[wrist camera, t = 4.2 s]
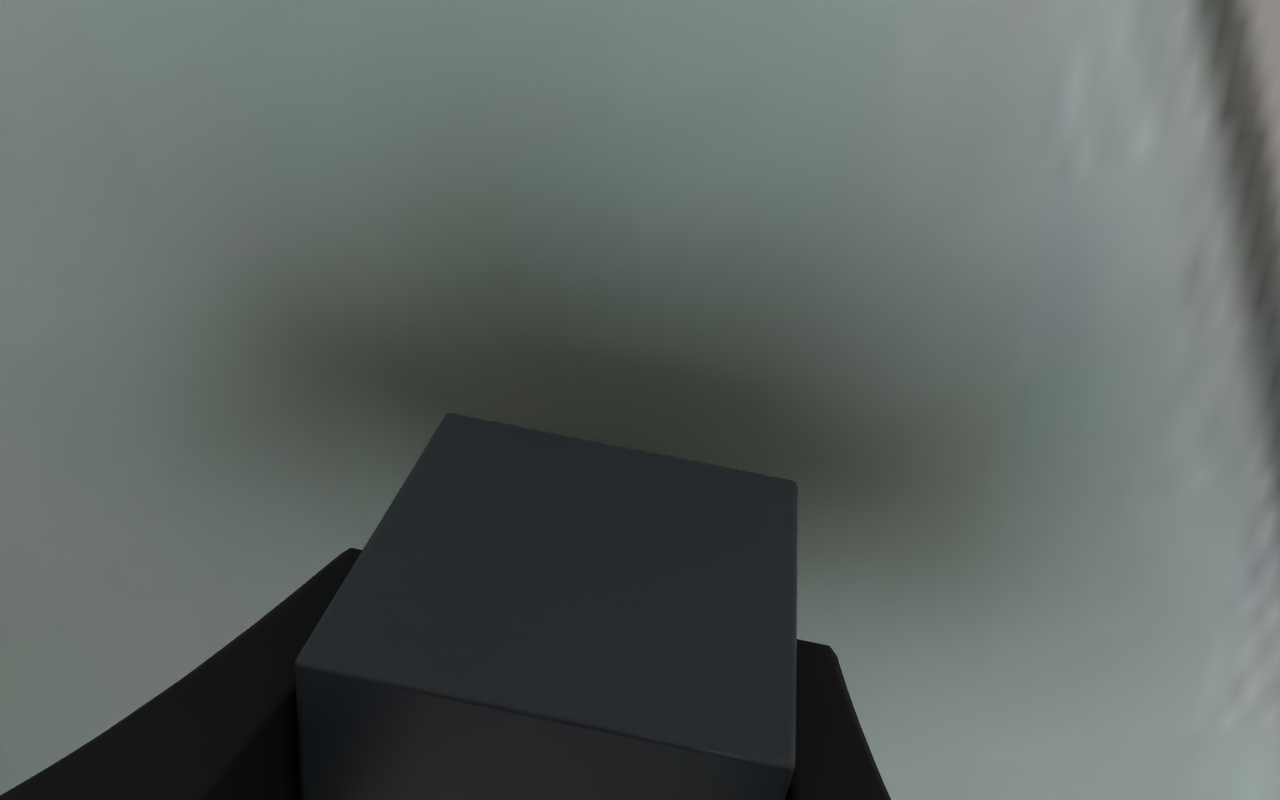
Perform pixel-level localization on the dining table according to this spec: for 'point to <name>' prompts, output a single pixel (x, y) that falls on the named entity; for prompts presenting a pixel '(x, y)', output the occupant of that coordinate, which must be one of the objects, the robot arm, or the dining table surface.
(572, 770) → the block
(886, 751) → the dining table surface
